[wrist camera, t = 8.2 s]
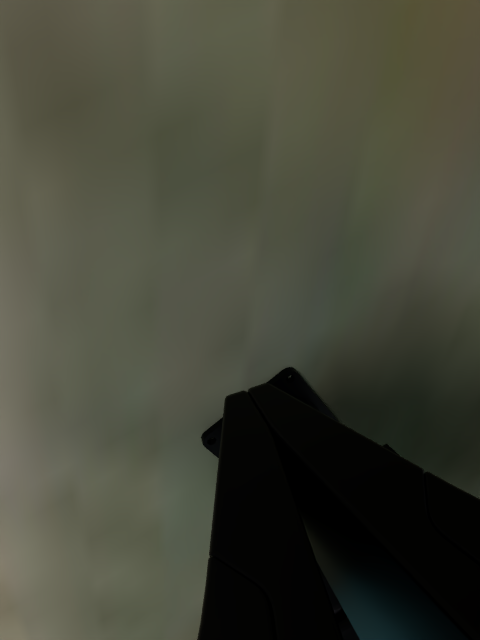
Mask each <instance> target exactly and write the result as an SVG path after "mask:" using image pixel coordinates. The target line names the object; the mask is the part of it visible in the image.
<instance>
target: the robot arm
mask: <svg viewBox="0 0 480 640" xmlns="http://www.w3.org/2000/svg"><path fill="white" fill-rule="evenodd" d="M290 375H292V376H291V377H290V378H289V379H286V378H287V377H288V376H290ZM210 438H213V439H211V440H208V439H210ZM201 439H202V443H203V445H204V447H206V448H207V449H208V450H209V451H210V452H212V453H213V454H214V455H215V456H217V457H218V458H219V462H218V472H217V482H216V492H215V502H214V511H213V521H212V531H211V541H210V551H209V555H210V558H209V559H208V567H207V577H206V586H205V593H204V601H203V608H202V615H201V623H200V628H199V633H198V639H197V640H480V499H478V498H476V497H474V496H473V495H471V494H469V493H467V492H465V491H463V490H461V489H459V488H457V487H455V486H453V485H452V484H450V483H448V482H446V481H444V480H442V479H441V478H439V477H437V476H435V475H433V474H432V473H430V472H425V474H424V470H423V469H422V468H420V467H419V466H417V465H415V464H413V463H411V462H410V461H408V460H406V459H404V458H402V457H401V456H399V455H398V454H397V453H396V452H395V451H394V450H393V449H392V448H391V447H390V446H389V445H388V444H385V445H383V446H381V445H379V444H377V443H375V442H374V441H372V440H370V439H368V438H366V437H365V436H363V435H361V434H359V433H357V432H356V431H354V430H352V429H350V428H348V427H347V426H345V425H343V424H341V423H340V422H339V421H338V420H337V419H336V417H335V416H334V415H333V414H332V413H331V412H330V410H329V409H328V408H327V407H326V406H325V404H324V403H323V402H322V401H321V400H320V399H319V397H318V396H317V395H316V394H315V393H314V391H313V390H312V389H311V388H310V387H309V386H308V384H307V383H306V382H305V381H304V380H303V379H302V377H301V376H300V375H299V374H298V373H297V371H296V370H295V369H293V368H290V367H289V368H285V369H283V370H282V371H281V372H280V373H278V374H277V375H276V376H274V377H273V378H272V379H271V380H269V381H268V382H267V383H264V384H261V385H258V386H255V387H252V388H250V389H249V390H248V392H246V391H240V392H237V393H234V394H231V395H228V396H227V397H226V398H225V403H224V413H223V418H221V419H220V420H219V421H218V422H216V423H215V424H214V425H213V426H211V427H210V428H209V429H208V430H206V431H205V432H204V433H203V434H202V437H201Z"/></svg>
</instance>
